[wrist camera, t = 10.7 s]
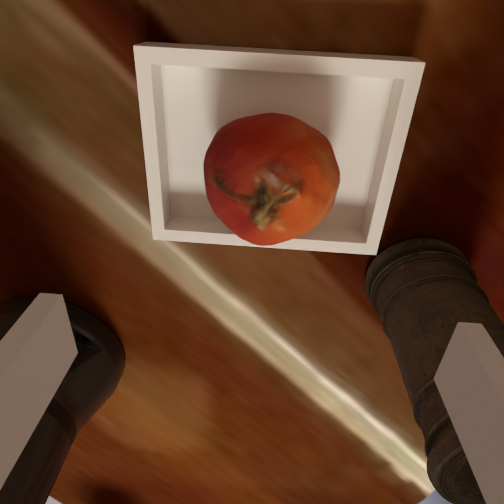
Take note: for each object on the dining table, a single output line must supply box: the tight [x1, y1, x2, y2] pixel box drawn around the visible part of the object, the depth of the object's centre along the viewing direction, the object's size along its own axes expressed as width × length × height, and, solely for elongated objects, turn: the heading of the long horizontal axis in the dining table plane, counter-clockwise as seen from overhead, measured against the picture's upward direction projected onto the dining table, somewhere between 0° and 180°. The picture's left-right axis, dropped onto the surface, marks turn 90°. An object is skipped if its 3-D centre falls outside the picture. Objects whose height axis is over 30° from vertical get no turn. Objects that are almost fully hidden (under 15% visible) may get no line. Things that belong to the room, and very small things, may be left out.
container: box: [365, 238, 504, 504], centre depth 29 cm, size 9×9×18 cm
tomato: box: [203, 113, 340, 246], centre depth 27 cm, size 9×9×8 cm
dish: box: [133, 42, 425, 255], centre depth 29 cm, size 18×14×3 cm
